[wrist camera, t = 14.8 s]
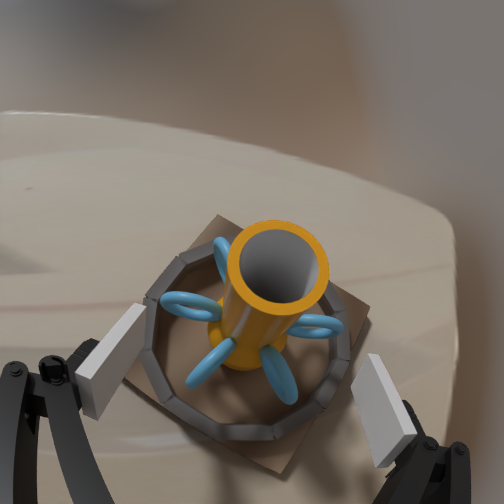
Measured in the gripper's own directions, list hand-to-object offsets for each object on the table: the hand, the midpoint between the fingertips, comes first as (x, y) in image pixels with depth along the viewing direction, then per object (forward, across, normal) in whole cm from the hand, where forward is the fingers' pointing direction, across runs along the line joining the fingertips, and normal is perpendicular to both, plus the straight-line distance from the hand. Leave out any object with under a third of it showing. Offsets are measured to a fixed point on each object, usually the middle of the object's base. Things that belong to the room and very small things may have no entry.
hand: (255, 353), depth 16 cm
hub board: (+9, 0, -5) cm, 10 cm away
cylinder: (+8, 0, -4) cm, 9 cm away
